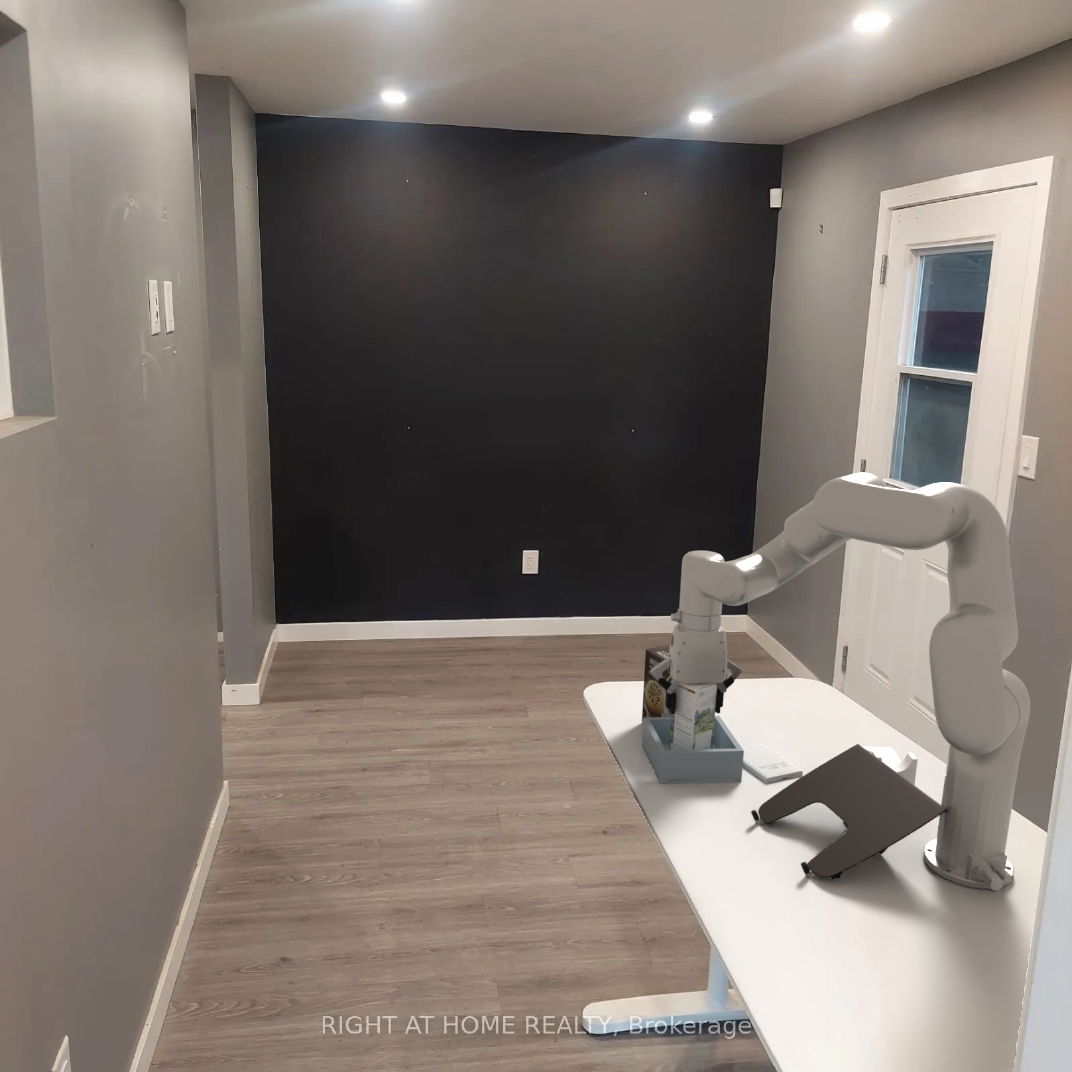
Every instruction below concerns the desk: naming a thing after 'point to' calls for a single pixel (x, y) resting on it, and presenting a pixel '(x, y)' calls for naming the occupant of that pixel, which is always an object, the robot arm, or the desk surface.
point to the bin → (692, 755)
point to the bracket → (896, 761)
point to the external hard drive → (767, 763)
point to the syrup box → (693, 717)
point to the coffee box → (654, 684)
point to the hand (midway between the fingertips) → (693, 710)
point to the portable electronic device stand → (855, 808)
